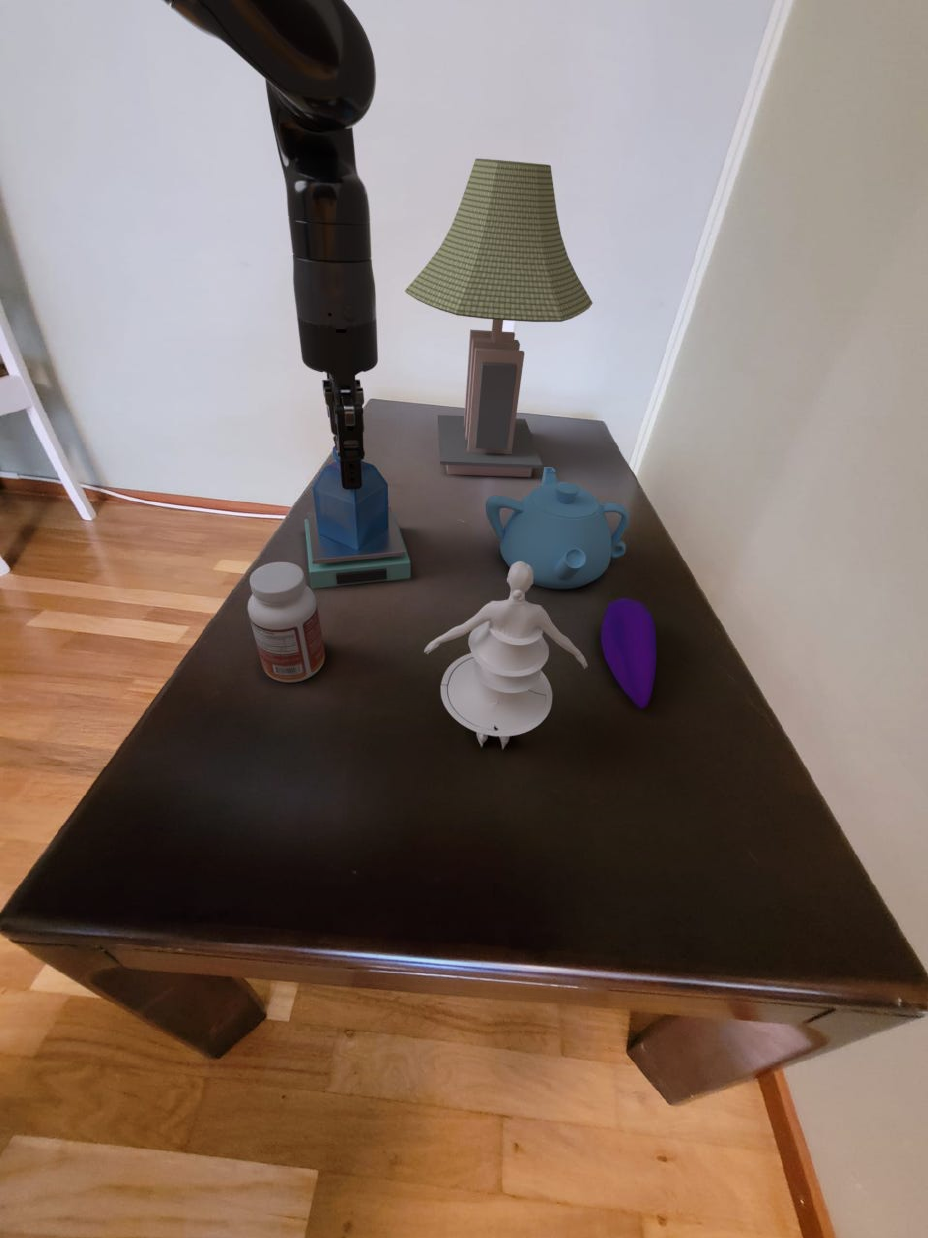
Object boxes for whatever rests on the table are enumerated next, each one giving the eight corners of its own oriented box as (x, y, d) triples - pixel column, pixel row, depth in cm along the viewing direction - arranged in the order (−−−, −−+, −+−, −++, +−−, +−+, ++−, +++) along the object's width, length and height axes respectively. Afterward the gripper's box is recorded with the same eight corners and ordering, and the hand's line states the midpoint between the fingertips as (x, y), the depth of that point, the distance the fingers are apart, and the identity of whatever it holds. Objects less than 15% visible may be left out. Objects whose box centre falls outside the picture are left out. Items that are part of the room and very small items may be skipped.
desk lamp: (407, 423, 105) (406, 151, 79) (549, 429, 107) (595, 167, 81) (403, 485, 86) (401, 152, 59) (577, 491, 88) (649, 174, 62)
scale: (311, 590, 64) (308, 569, 62) (306, 535, 73) (303, 514, 71) (411, 580, 67) (411, 559, 65) (394, 528, 76) (394, 508, 74)
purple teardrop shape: (626, 691, 50) (604, 581, 60) (612, 720, 54) (593, 612, 64) (677, 695, 50) (646, 584, 60) (660, 723, 54) (633, 614, 64)
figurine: (559, 701, 54) (607, 528, 41) (567, 786, 47) (629, 609, 33) (428, 689, 54) (434, 512, 41) (415, 772, 47) (418, 590, 33)
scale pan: (312, 564, 63) (312, 560, 63) (307, 516, 71) (307, 512, 70) (405, 555, 66) (405, 551, 65) (391, 510, 73) (390, 506, 73)
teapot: (464, 566, 70) (471, 487, 63) (537, 518, 81) (550, 446, 73) (564, 621, 63) (585, 539, 56) (630, 561, 74) (655, 486, 66)
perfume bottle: (388, 528, 69) (386, 436, 61) (357, 550, 65) (351, 455, 57) (350, 512, 71) (344, 422, 63) (318, 533, 67) (306, 439, 59)
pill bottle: (305, 633, 59) (290, 548, 51) (337, 665, 55) (326, 578, 48) (251, 660, 55) (227, 572, 48) (282, 695, 52) (262, 607, 45)
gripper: (293, 294, 56) (312, 450, 67) (299, 331, 46) (320, 508, 57) (366, 296, 58) (373, 447, 69) (387, 332, 47) (391, 503, 58)
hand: (349, 474), depth 63 cm, fingers closed on perfume bottle, 5 cm apart
